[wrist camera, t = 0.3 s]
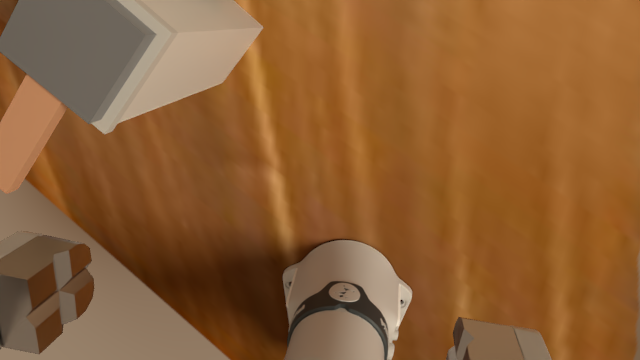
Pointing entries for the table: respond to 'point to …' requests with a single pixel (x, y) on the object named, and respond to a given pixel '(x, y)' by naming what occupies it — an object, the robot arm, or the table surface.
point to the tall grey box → (181, 53)
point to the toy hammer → (63, 71)
